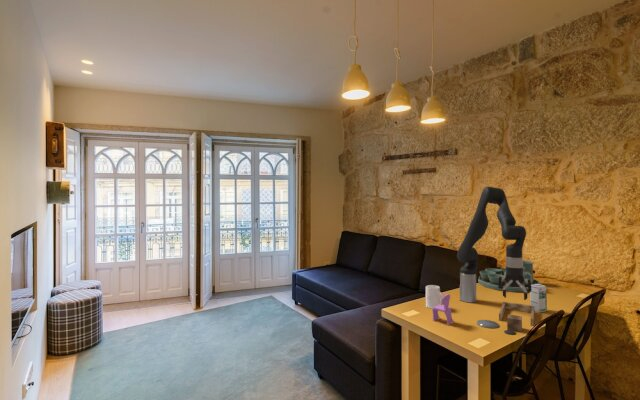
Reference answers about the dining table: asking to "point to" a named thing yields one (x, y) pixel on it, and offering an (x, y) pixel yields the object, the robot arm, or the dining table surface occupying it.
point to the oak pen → (519, 308)
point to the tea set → (492, 276)
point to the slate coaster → (487, 324)
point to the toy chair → (443, 309)
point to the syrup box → (538, 297)
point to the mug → (433, 296)
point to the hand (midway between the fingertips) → (514, 298)
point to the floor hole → (509, 332)
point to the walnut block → (514, 323)
